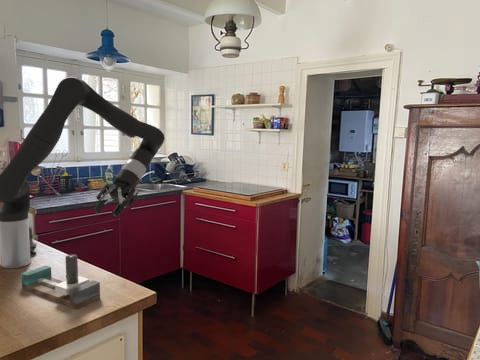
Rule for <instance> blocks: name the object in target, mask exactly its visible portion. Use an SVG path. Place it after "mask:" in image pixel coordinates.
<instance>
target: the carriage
mask: <svg viewBox="0 0 480 360" xmlns="http://www.w3.org/2000/svg"><path fill="white" fill-rule="evenodd" d="M64 258H65V276H66V277H65V278H66V280H64V282H61V283H59V284H56V285H55V292H58V293H61V294H64V295H69V294H70V291H69V290H71V289H73V288H76V287H78V286H80V285H83V284H85V283H87V282H90V279H89V278H87V277H83V276H80V275H79V266H78V265H79V264H78V255H77V254H68V255H66V256H65V257H64Z"/></svg>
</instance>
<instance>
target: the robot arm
mask: <svg viewBox="0 0 480 360" xmlns="http://www.w3.org/2000/svg"><path fill="white" fill-rule="evenodd" d="M77 106H80V107H83V108H85V109H88V110H90V111H91V112H93V113H95V114H97V115H98V116H99V117H100V118H102V119H103V120H105V122H107V124H109V125H110V126H112V127H113V128H114V129H116V130H118V131H119V132H120V133H122V134H124V135H125V136H127V137H129V138H133V139H134V138H135V137H138V138H140V139H142V140H141V142H140V143H139V145H138V146H137V148H136V149H135V150H134V151H133V152H132V153H131V155H130V156H129V158H128V160H127V161H126V162H125V163H124V164H123V166H121V169H120V170H119V171H118V173H117V174H116V176H115V178H114V179H113V184H112V186H109V184H105V185H104V186H103V188H102V189H101V190H100V191H99V193H98V194H97V196H95V197H96V199H97V201H98V202H97V203H96V205H95V207H94V209H93V210H94V212H95V213H96V214H100V213H101V212H102V210H103V208H104V207H105V206H106V205H107V203H109V202H113V201H115V200H116V201H119V203H117V205H116V206H115V208H114V210H113V211H112V215H113V216H114V217H119V216H120V215H121V214H122V212H123V211H124V209H125V208H127V207H128V208H131V206H132V205H133V204H134V201H135V200H136V198H137V197H138V194H139V192H138V190H137V189H136V188H137V186H138V185H139V183H140V181H141V180H142V178H143V177H144V175H145V172H146V171H147V169H148V167H149V166H150V164H151V163H152V161H153V159H154V158H155V155H156V154H157V153H158V152H159V150H160V148H161V147H162V145H163V144H164V142H165V134H164V133H163V131H162V130H161V129H160V128H158V127H157V126H154V125H152V124H149V123H146V122H144V121H140V120H138V119H137V118H135V117H134V116H133V115H131V114H130V113H128V112H126V111H125V110H123V109H121V108H120V107H119V106H117V105H115V104H114V103H112V102H110V101H108V100H107V99H106V98H104V97H103V96H102V95H100V94H99V93H98V92H97V91H96V90H94V89H93V87H91V86H90V85H89V84H88V83H87V82H86V81H85V80H83V79H81V78H78V77H75V76H68V77H65V78H63V79H62V80H60V81H59V83H58V85H57V87H56V88H55V91H54V93H53V94H52V96H51V99H50V100H49V103H48V104H47V106H46V108H45V109H44V110H43V112H42V113H41V115H40V116H39V117H38V119H37V120H36V122H35V123H34V125H33V126H32V127H31V128H30V130H29V131H28V133H27V134H26V136H25V138H24V140H23V141H22V143H21V145H20V146H19V148H18V149H17V150H16V152H15V154H14V155H13V157H12V159H11V160H10V162H9V163H8V164H7V166H5V168H4V169H3V170H2V172H0V203H3V205H2V208H1V209H0V265H1V268H4V269H16V268H17V269H18V268H23V267H25V266H27V265H29V264H31V262H32V260H31V256H30V240H29V227H30V226H29V211H30V209H31V189H30V184H29V181H28V176H29V175H30V174H31V173H32V172H33V171H34V170H35V169H36V168H37V167H38V166H39V165H40V164H42V162H44V161H45V160H46V159H47V158H48V156H49V155H50V154H51V153H52V151H53V150H54V148H55V147H56V145H57V144H58V142H59V140H60V138H61V137H62V133H63V129H64V127H65V124H66V121H67V120H68V118H69V117H70V116H71V114H72V112H73V111H74V110H75V109H76V108H77Z"/></svg>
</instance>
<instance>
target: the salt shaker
mask: <svg viewBox="0 0 480 360" xmlns="http://www.w3.org/2000/svg"><path fill="white" fill-rule="evenodd" d="M33 237H34V235H33V230H32V227H30V226H29V240H30V257H31V256H35V255H36V254H37V252H36V251H35V250H36V248H37V243H36V242H35V243H34V241H33Z"/></svg>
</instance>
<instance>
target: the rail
mask: <svg viewBox="0 0 480 360" xmlns="http://www.w3.org/2000/svg"><path fill="white" fill-rule="evenodd" d="M20 275H21V276H20V277H21V288H22V289H23V290H25V291H27V292H30V293H32V294H36V295H38V296H40V297H43V298H46V299H49V300H51V301H55V302H57V303H60V304H62V305H65V306H68V307H70V308H73V309H76V310H78V309H80V308H83V307H85V306H88V305H89V304H91V303H93V302H95V301H97V300H99V299H101V288H100V287H101V285H100V281H97V280H89V282H87V283H85V284H83V285H80V286H78V287H76V288H73V289H71V290H69V291H70V294H69V295H64V294H61V293H58V292H55V285H56V284H59V283H61V282H64V281H65V280H64V281H63V280H61V279H57V278H54V277H52V267H51V266H48V265H42V266H39V267H37V268H34V269H30V270H28V271H25V272H22V273H21V274H20Z"/></svg>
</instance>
